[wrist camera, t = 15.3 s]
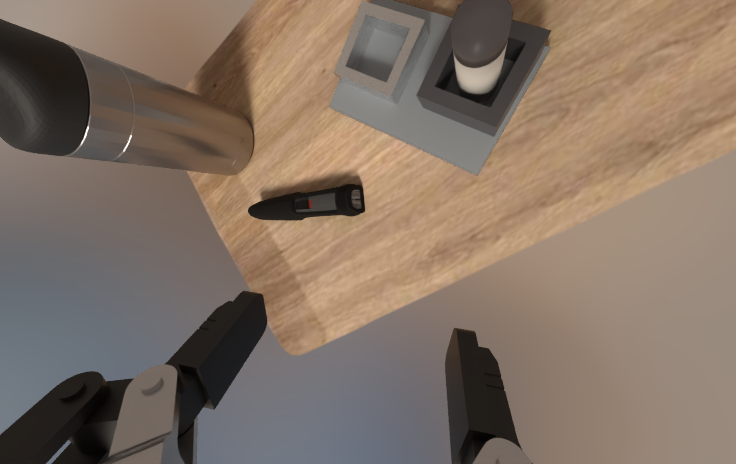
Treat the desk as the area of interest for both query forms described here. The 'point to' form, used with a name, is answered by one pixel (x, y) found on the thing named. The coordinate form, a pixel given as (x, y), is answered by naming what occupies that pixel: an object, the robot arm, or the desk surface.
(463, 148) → the panel
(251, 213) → the electric trimmer
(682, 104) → the desk surface
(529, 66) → the port
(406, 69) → the square frame
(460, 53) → the plug
